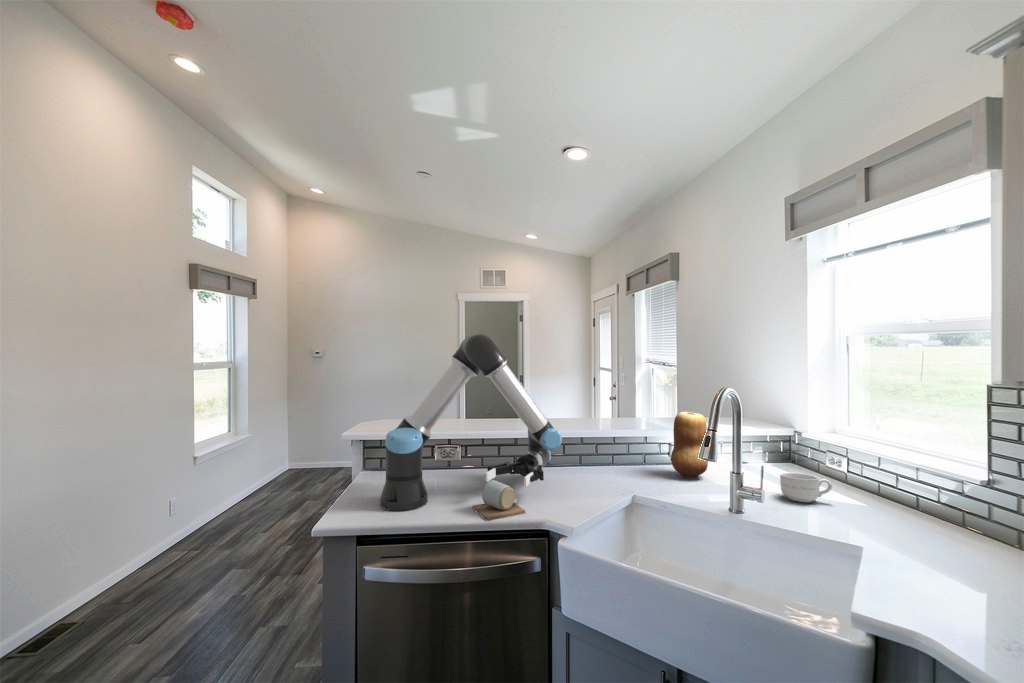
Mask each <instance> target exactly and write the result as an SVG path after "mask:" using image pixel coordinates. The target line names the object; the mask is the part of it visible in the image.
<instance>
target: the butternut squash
mask: <svg viewBox="0 0 1024 683" xmlns="http://www.w3.org/2000/svg"><path fill="white" fill-rule="evenodd" d="M673 421H674V422H673V448H672V452H671V455H670V459H669V460H670V461H671V465H672V468H673V469H674V470H675V471H676V472H677V474H679V475H680V476H681V477H682V476H683V477H689V478H691V477H692V478H698V477H699V476H701V475H702V474H704V473H706V471H707V470H708V467H709V466H708V465H709V460H708V461H704V460H700V459H698V455H699V450H700V447H701V444H702V441H703V438H704V435H705V433H706V434H707V432H706V430H708V429H707V428H708V427H707V425H708V424H707V419H706V417H705V416H704V415H702V414H701V413H697V412H691V411H681V412H678V413H676V416H675V417H674V420H673ZM683 477H682V478H683Z"/></svg>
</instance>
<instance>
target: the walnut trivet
mask: <svg viewBox="0 0 1024 683" xmlns="http://www.w3.org/2000/svg"><path fill="white" fill-rule="evenodd" d="M473 508H474V509H475V510H476V511H477V512H478V513H477V512H476V511H475V510H474V509H473ZM472 509H473V510H474V511H475V512H476V513H477V514H479V515H480V516H481V515H482V516H483V517H484V520H486V521H487V522H488V521H493V520H494V521H495V520H499V519H503V518H508V516H509V517H513V516H517V515H522V514H523V515H524V514H526V509H524V508H522V507H521V506H519V505H518V504H517V503H516V504H515V503H513V505H512V506H511V507H510V508H509V509H507V510H501V509H498V508H495V507H492V506H489V505H486V504H485V503H479V504H475V505H472ZM482 516H481V517H482ZM483 517H482V518H483Z"/></svg>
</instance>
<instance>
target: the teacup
mask: <svg viewBox="0 0 1024 683" xmlns="http://www.w3.org/2000/svg"><path fill="white" fill-rule="evenodd" d="M779 478H780V480H779V482H780V484H779V485H780V490H781V492H782V494H783V495H784V496H785V497H786V498H787V499H788V500H791V501H794V502H800V503H812V502H814V501H815V500H816V499H818V498H821V497H822V496H823V495H825V494H828V493H830V492H831V491H832V489H833V484H832V482H831V481H830V480H829V479H826V478H819V476H816V475H812V474H809V473H802V472H781V473H779ZM823 483H826V484H827V486H828V487H827V488H826V489H824V490H821V491H820V487H821V485H822V484H823Z"/></svg>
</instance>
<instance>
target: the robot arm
mask: <svg viewBox="0 0 1024 683" xmlns="http://www.w3.org/2000/svg"><path fill="white" fill-rule="evenodd" d="M498 346H499V345H497V343H496V342H495V341H494V339H493V338H492V337H490V336H489V335H487V334H484V333H475V334H472V335H469V336H466V337H465V338H464V339H463V340H462V341H461V343H460V345H459V347H458V349H456V351H455V353H454V354H453V355H452V356H451V364H450V365H449V367H448V368H447V370H446V371H444V373H443V374H442V376H441V377H440V378H439V380H438V381H437V382H436V384H435V385H434V386H433V387H432V388H431V390H430V392H428V394H427V395H426V397H425V398H424V399H423V400H422V402H421V403H420V404H419V406H418V407H417V408H416V410H415V411H414V412H413V413H412V415H410V416H405V417H404V418H403V419H402V421H400V423H399V424H398V426H397V427H395V429H392V430H390V431H388V432H387V434H386V436H385V440H384V445H385V481H384V485H383V488H382V491H381V494H380V498H379V506H380V505H381V507H383V508H385V509H389V510H388V511H390V510H405V511H410V510H409V509H412V510H416V509H418V507H419V508H421V506H422V507H424V506H425V505H427V504H428V502H429V494H428V491H427V487H426V484H425V482H424V479H423V447H424V446H425V445H426V444H427V442H428V441H429V440H430V438H431V436H432V435H431V433H432V432H431V430H432V429H433V427H434V426H435V425H436V424H437V422H438V421H439V419H440V418H441V417H442V416H443V414H444V412H446V410H447V408H448V407H449V406H450V405H451V404H452V403H453V401H454V399H455V398H456V397H457V396H458V394H459V393H460V392H461V390H462V389H463V388H464V386H465V385H466V384H467V383H468V382H469V380H470V378H473V377H477V376H478V375H479V374H480V372H481V373H482V374H483V376H484V377H485V378H489V379H490V380H491V382H492V383H493V384H494V385H495V387H496V389H497V390H498V391H499V392H500V394H501V395H502V396H503V397H504V399H505V400H506V401H507V403H508V405H510V407H511V408H512V409H513V411H514V412H515V413H516V414H517V416H518V418H520V420H521V421H522V422H523V424H524V426H525V427H526V429H527V443H528V444H527V449H528V451H527V452H526V453H524V454H523V455H521V456H519V457H518V458H517V459H516V461H515V462H514V463H510V461H505V462H503V463H500V464H494V465H489V466H486V467H487V471H486V472H485V473H484V481H485V482H486V483H487V482H489V481H491V480H494V479H495V478H496V477H497V476H501V475H506V474H509V475H516V474H517V475H520V476H522V477H524V478H523V485H524V487H528V486H529V485H530V484H531V483H533V482H535V481H538V480H539V481H544V478H545V476H544V475H545V474H544V470H543V468H544V467H545V466H547V464H548V463H549V462H550V460H552V459H551V457H552V454H551V452H552V451H555V450H558V449H559V447H560V446H561V445H562V442H563V437H562V434H561V432H559V430H558V429H556V428H555V427H554V426H553V425H552V424H551V422H550V421H549V419H548V418H547V417H546V416H545V414H544V412H542V410H541V409H540V408H539V406H538V404H537V403H536V402H535V401H534V399H533V398H532V396H531V395H530V394H529V393H528V391H527V389H525V387H524V386H523V384H522V383H521V381H519V379H518V377H517V376H516V375H515V373H514V372H513V371H512V369H511V368H510V367H509V365H508V359H507V358H506V357H505V356H504V354H503V353H502V351H501V349H500V348H499V347H498ZM560 448H561V447H560ZM426 503H427V504H426ZM423 505H424V506H423ZM381 507H380V508H381ZM383 508H382V509H383ZM415 508H416V509H415ZM385 509H384V510H385Z"/></svg>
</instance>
